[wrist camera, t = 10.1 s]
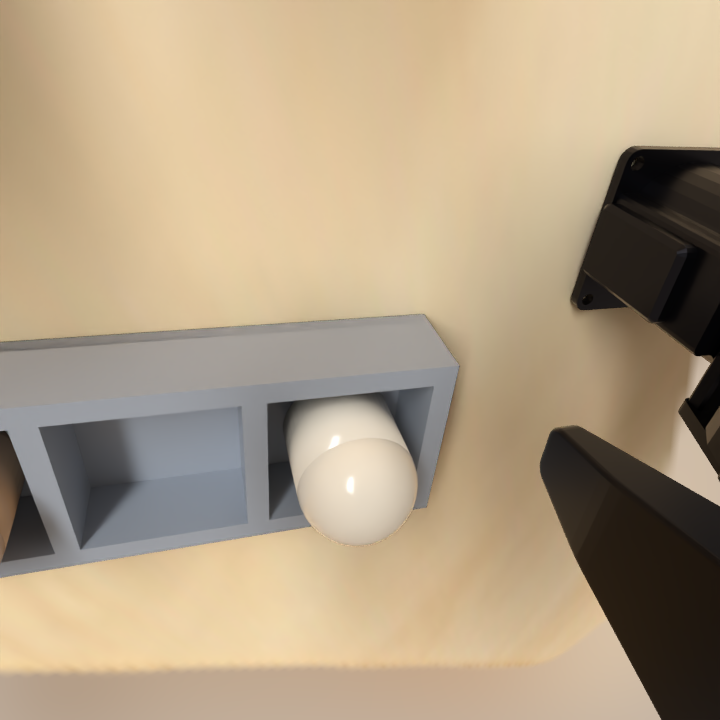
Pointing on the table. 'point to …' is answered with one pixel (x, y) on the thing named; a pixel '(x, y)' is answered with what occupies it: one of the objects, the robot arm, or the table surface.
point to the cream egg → (350, 467)
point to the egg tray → (194, 429)
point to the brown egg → (8, 488)
